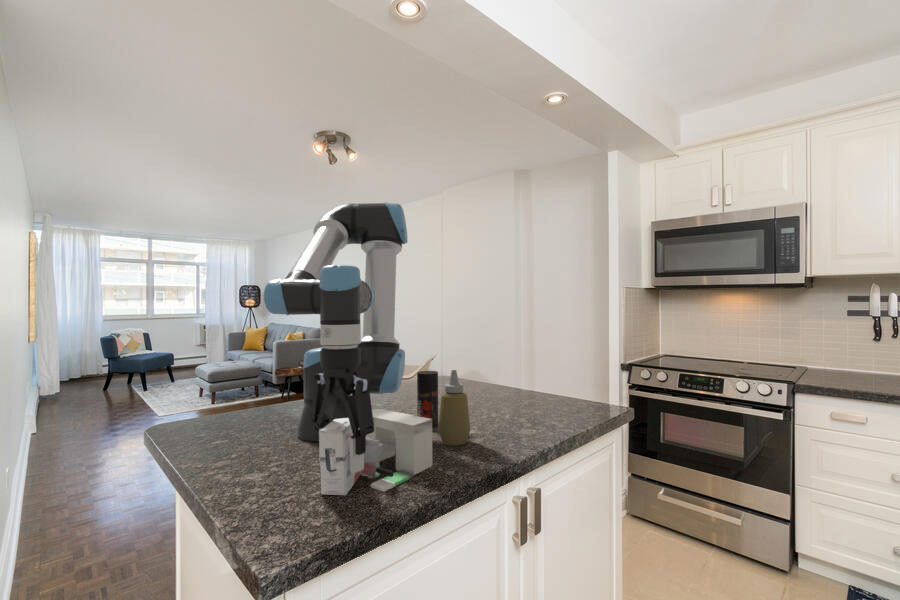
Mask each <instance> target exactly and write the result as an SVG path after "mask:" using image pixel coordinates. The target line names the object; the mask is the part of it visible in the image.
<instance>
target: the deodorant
mask: <svg viewBox="0 0 900 600" xmlns="http://www.w3.org/2000/svg"><path fill="white" fill-rule="evenodd" d="M416 376H417V377H416V380H417V381H416V388H417V389H416V393H417V394H416V395H417V396H416V397H417V399H416V401H417V405H416V407H417V412H416V413H417V415H416V416H419V417H424V418H429V419H432V429H433V428H436V427H437V428H438V426H439V371H436V370H420V371H417V372H416Z"/></svg>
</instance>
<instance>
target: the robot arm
mask: <svg viewBox="0 0 900 600" xmlns="http://www.w3.org/2000/svg"><path fill="white" fill-rule="evenodd" d="M408 239H409V238H408V229H407V223H406V217H405V213H404V208H403V206H402V205H401V204H399V203H391V202H381V203H379V202H378V203H377V202H376V203H373V202H372V203H369V202H368V203H366V202H365V203H347V204H346V203H345V204H341V205H339V206H338V207H335V208H334V209H332V210H330V211H328V212H327V213H326V214H324V215H323V216H321V218H320V219H319V220H318V221H317V223H316V224H315V226H314V228H313V236H312V237H311V239H310V240H309V242H308V244H307V245H306V247H304V249H303V251H302V253H301V254H300V256H299V257H298V259H297V260H296V262H295V264H294V265H293V266H292V268H291V269H290V270H289V272H288V274H287V275H286V277H285V278H284V279H281V278H278V279H271V280H269V281H268V282H267V283H266V285H265V286H264V290H263V301H264V305H265V308H266V310H267V311H268V312H269V313H271V314H272V315H286V316H289V315H290V316H292V315H293V316H295V315H300V316H301V315H319V317H320V318H319V319H320V320H319V324H320V328H319V329H320V341H319V342H320V345H321V346H322V347H318V348H317V347H316V348H312V349H309V350H307V351H306V352H305V353H304V355H303V367H302V369H303V370H302V371H303V372H302V373H303V407H302V410H301V413H300V417H299V420H298V423H297V426H296V437H297V438H299V439H301V440H303V441H313V442H318V445H319V446H318V449H319V451H318V453H319V455H318V459H319V460H318V462H319V464H320V444H319V431H320V430H322V429H323V428H324V427H325V426H327V425H328V424H329V423H331V422H332V421H333V420H334V419H341V418H349V422H350V425H351V429H352V432H353V435H352V436H350V473H352V474H353V473H356V472H358V471H361V470H363V469H364V453H365V451H366V435H367V434H370V433H373V432H374V423H373V415H372V410H373V408H372V401H371V395H373V394H374V395H377V394H378V395H384V394H395V393H396V392H398V391H399V389H400V388H401V385H402V382H403V376H404V371H405V363H406V352H405V350H404V349H402V348H400V342H399V341H398V340H397V339H396V338H395V317H396V315H395V314H396V287H397V286H396V285H397V284H396V283H397V280H396V277H397V255H399V254H400V253H401V252H402V250H403V245H405V244H407V243H408ZM354 244H355V245H360V248H361V250H362V251H363V252H364V254H365V269H364V271H365V273H364V280H362V279H361V278H362V277H361V271H360V268H359V267H358V266H354V265H346V264H345V265H344V264H343V265H341V264H338V265H337V264H335V265H334V261H335V259H336V257H337V255H338V254H339V251H341V250H343V249H344V248H345V247H346V246H347V245H354ZM362 314H363V315H362ZM361 315H362V317H363V319H362V329H361ZM361 330H362V331H361ZM361 334H362V335H361ZM361 336H362V337H361Z"/></svg>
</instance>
